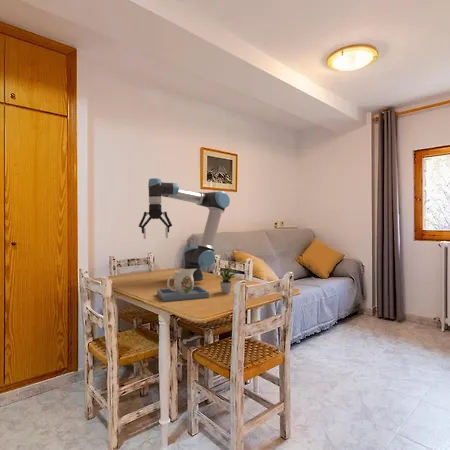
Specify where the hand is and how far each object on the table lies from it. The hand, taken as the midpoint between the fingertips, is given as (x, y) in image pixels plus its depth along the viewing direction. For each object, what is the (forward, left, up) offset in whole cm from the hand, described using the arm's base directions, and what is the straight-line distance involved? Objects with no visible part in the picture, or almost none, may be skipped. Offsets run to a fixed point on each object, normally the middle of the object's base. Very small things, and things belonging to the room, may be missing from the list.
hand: (155, 238), depth 201 cm
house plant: (-35, +26, -31) cm, 54 cm away
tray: (-10, +25, -31) cm, 41 cm away
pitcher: (-10, +25, -31) cm, 41 cm away
